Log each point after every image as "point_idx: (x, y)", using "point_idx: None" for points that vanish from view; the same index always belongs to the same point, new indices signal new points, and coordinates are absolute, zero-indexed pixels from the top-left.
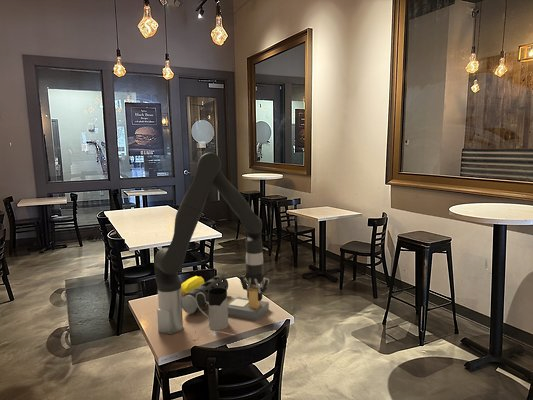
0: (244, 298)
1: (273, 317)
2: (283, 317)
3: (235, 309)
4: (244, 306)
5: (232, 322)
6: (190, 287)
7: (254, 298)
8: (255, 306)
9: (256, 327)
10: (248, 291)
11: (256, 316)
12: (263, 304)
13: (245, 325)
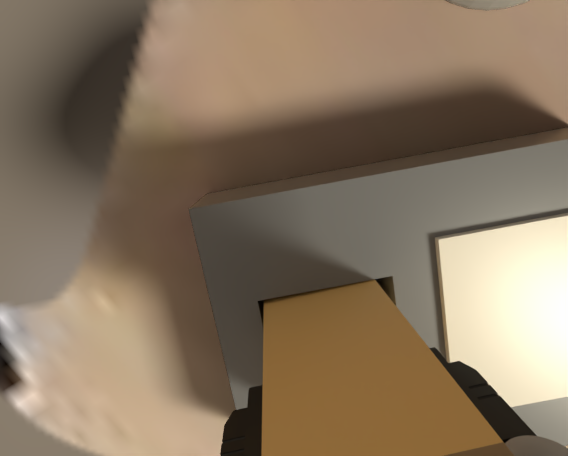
0: (555, 439)
1: (138, 345)
2: (64, 392)
3: (495, 151)
4: (435, 268)
5: (413, 39)
6: None
7: (315, 367)
8: (289, 308)
9: (137, 83)
10: (509, 444)
11: (210, 199)
12: None
13: (258, 58)
